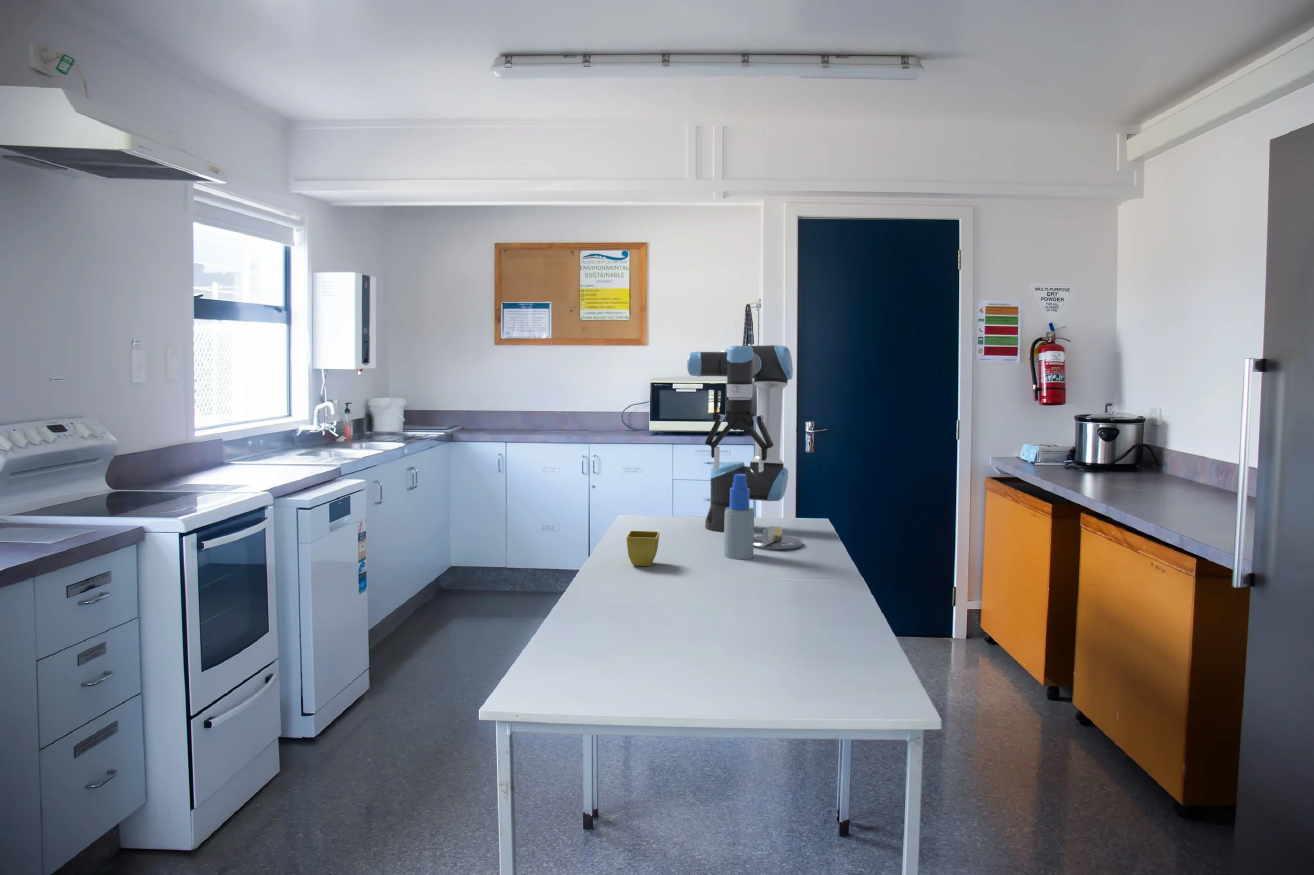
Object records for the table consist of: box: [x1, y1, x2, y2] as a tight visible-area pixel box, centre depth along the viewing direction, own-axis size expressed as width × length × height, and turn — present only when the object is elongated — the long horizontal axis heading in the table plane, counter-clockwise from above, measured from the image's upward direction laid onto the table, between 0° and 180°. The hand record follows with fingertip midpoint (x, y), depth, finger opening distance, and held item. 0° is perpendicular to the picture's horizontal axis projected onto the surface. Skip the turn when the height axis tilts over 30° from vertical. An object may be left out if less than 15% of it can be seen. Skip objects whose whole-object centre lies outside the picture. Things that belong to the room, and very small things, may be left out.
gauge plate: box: [753, 534, 802, 552], centre depth 261 cm, size 17×17×1 cm
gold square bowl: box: [626, 530, 661, 567], centre depth 234 cm, size 9×9×9 cm
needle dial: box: [762, 525, 783, 544], centre depth 258 cm, size 11×4×5 cm, turn 151°
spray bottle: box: [723, 474, 755, 560], centre depth 245 cm, size 9×9×25 cm
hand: (738, 470), depth 239 cm, fingers open, 13 cm apart
